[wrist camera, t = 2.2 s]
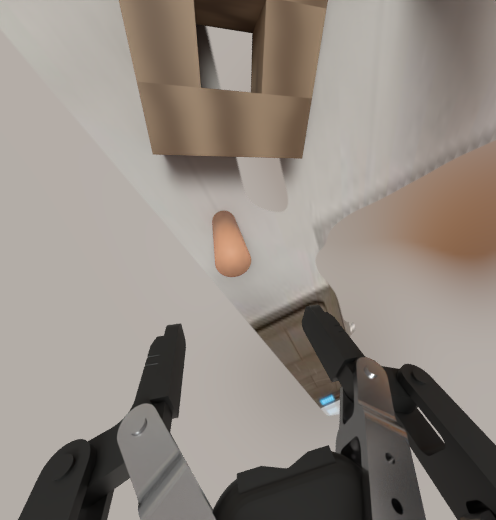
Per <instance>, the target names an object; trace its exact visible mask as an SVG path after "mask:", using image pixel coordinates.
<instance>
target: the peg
mask: <svg viewBox="0 0 496 520" xmlns="http://www.w3.org/2000/svg"><path fill="white" fill-rule="evenodd" d="M212 225H213V239H214V253H215V265H216V268H217V270H218V271H219V272H220V273H221V274H222V275H224V276H227V277H236V276H240V275H242V274H243V273H245V272H246V271H247V270H248V269H249V267H250V264H251V257H250V254H249V252H248V249H247V247H246V244H245V242H244V239H243V237H242V235H241V232H240V230H239V227H238V225H237V223H236V220H235V218H234V216H233V215H232V214H231V213H230V212H228V211H220V212H218V213H216V214H215V215H214V217H213V220H212Z"/></svg>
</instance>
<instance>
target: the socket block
mask: <svg viewBox="0 0 496 520" xmlns="http://www.w3.org/2000/svg"><path fill="white" fill-rule="evenodd" d="M327 2H328V0H119V3H120V8H121V12H122V17H123V21H124V26H125V30H126V35H127V39H128V44H129V48H130V53H131V57H132V62H133V66H134V71H135V75H136V80H137V84H138V89H139V93H140V98H141V103H142V107H143V112H144V116H145V121H146V125H147V130H148V134H149V139H150V143H151V148H152V152H153V154H157V155H193V156H230V157H266V158H302V155H303V149H304V143H305V137H306V131H307V125H308V119H309V112H310V106H311V100H312V94H313V88H314V82H315V76H316V70H317V63H318V57H319V51H320V45H321V39H322V33H323V27H324V20H325V14H326V8H327ZM196 24H198V25H205V26H212V27H217V28H223V29H230V30H236V31H243V32H248V33H253V36H252V74H251V76H252V77H251V93H249V92H239V91H229V90H219V89H208V88H201V81H200V69H199V57H198V45H197V33H196Z"/></svg>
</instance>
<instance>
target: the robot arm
mask: <svg viewBox="0 0 496 520" xmlns="http://www.w3.org/2000/svg"><path fill="white" fill-rule="evenodd" d="M302 327H303V330H304V332H305V334H306V336H307V337H308V339H309V341H310V343H311V345H312V347H313V348H314V350H315V352H316V354H317V356H318V358H319V359H320V361H321V363H322V365H323V367H324V369H325V370H326V372H327V374H328V376H329V378H330V380H331V381H332V382H335V381H339V382H340V384H341V387H340V424H339V430H338V434H337V438H336V452H332V451H331V450H330V448H329V445H328V446H325V447H322V448H318V449H315V450H312V451H309V452H307V453H306V454H305V455H303V456H302V457H301V458H300V459H299V460H297V461H296V463H294V464H293V465H292V466H290V467H289V468H287V469H286V468H275V467H265V466H260V467H257V468H254V469H250V470H247V471H244V472H241V473H238V474H237V479H236V480H235V481H234V482H232V483H231V484H230V485H229V486H228V487H227V488H226V490H225V491H224V492H223V494H222V495H221V496H220V498H219V500H218V501H217V503H216V505H215V507H214V509H212V507H211V505H210V504H209V502H208V500H207V498H206V496H205V494H204V493H203V491H202V489H201V488H200V485H199V484H198V482H197V480H196V479H195V477H194V475H193V473H192V472H191V470H190V468H189V466H188V464H187V462H186V461H185V459H184V457H183V455H182V453H181V452H180V450H179V448H178V446H177V444H176V442H175V441H174V439H173V437H172V435H171V433H170V429H171V422H172V419H173V418H177V417H178V415H179V406H180V397H181V386H182V378H183V369H184V359H185V350H186V343H185V337H184V333H183V329H182V325H181V324H174V325H168V326H167V327H166V330H165V334H164V336H159V337H157V338H156V339H155V340H154V342H153V343H152V345H151V346H150V350H149V354H148V358H147V360H146V363H145V367H144V370H143V374H142V377H141V381H140V384H139V388H138V391H137V395H136V398H135V401H134V404H133V406H132V408H131V409H130V411H129V413H128V414H127V415H126V416H125V417H124V419H123V420H121V421H120V422H119V423H118V424H117V425H115V426H114V427H112V428H111V429H109V430H107V431H105V432H104V433H102V434H100V435H98V436H97V437H95V438H93V439H91V440H90V441H88V442H87V441H86V440H83V439H78V440H75V441H72V442H70V443H68V444H66V445H65V446H63V447H62V448H61V449H60V450H58V451H57V452H56V453H55V454H54V455H53V456H52V457H51V459H50V460H49V461H48V462H47V464H46V465H45V466H44V468H43V470H42V471H41V473H40V475H39V477H38V480H37V481H36V483H35V485H34V488H33V490H32V492H31V494H30V496H29V498H28V501H27V502H26V504H25V507H24V508H23V511H22V513H21V515H20V517H19V519H18V520H107V518H108V513H109V509H110V505H111V500H112V496H113V492H114V489H115V488H116V487H118V486H119V485H121V484H122V483H123V482H125V481H126V480H128V479H129V478H131V481H132V484H133V487H134V489H135V492H136V495H137V498H138V503H139V505H138V512H139V517H140V520H426V518H425V513H424V509H423V504H422V500H421V495H420V491H419V486H418V482H417V477H416V473H415V469H414V464H413V459H412V455H411V450H410V447H411V449H412V450H413V452H414V453H415V455H416V457H417V458H418V459H419V461H420V463H421V464H422V466H423V467H424V469H425V470H426V472H427V473H428V475H429V476H430V478H431V479H432V481H433V483H434V484H435V486H436V487H437V489H438V490H439V492H440V493H441V495H442V497H443V498H444V500H445V501H446V503H447V504H448V506H449V507H450V509H451V510H452V512H453V513H454V515H455V517H456V518H457V520H496V445H495V444H494V443H493V442H492V441H491V440H490V439H489V438H488V437H487V436H486V435H485V434H484V432H483V431H481V429H480V428H479V427H478V426H477V425H476V424H475V423H474V422H473V421H472V420H471V419H470V418H469V417H468V416H467V414H466V413H465V412H464V411H463V410H462V409H461V408H460V407H459V406H458V405H457V404H456V403H455V402H454V401H453V400H452V399H451V398H450V397H449V395H448V394H446V392H445V391H444V390H443V389H442V388H441V387H440V386H439V385H438V384H437V383H436V382H435V381H434V380H433V379H432V377H431V376H430V375H428V374H427V373H426V372H425V371H424V370H422V369H421V368H419V367H417V366H415V365H411V364H405V365H403V366H402V367H401V368H400V369H396V368H390V367H383V366H380V365H379V364H378V363H377V362H376V361H374V360H372V359H370V358H366V357H365V356H364V355H363V353H362V352H361V351H360V350H359V348H358V347H357V346H356V344H355V343H354V342H353V341H352V339H351V338H350V337H349V335H348V334H347V333H346V332H345V330H344V329H343V328H342V326H340V324H339V323H338V321H337V320H336V319H335V317H333V316H332V315H331V314H329V313H328V312H324V311H323V310H322V308H321V307H320V306H319V305H313V306H307V307H306V309H305V312H304V316H303V319H302ZM417 407H419V408H420V410H421V411H422V412H423V413H424V415H425V416H426V417H427V418H428V420H429V421H430V422H431V424H432V425H433V426H434V427H435V429H436V430H437V431H438V433H439V434H440V435H441V436H442V438H443V440H444V442H445V443H444V442H443V441H442V440H441V439H440V437H439V436H438V435H437V434H436V432H435V431H434V430H433V428H432V427H431V426H430V424H429V423H428V422H427V421H426V419H425V418H424V417H423V415H422V414H421V413H420V411H419V410H418V409H417Z"/></svg>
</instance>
